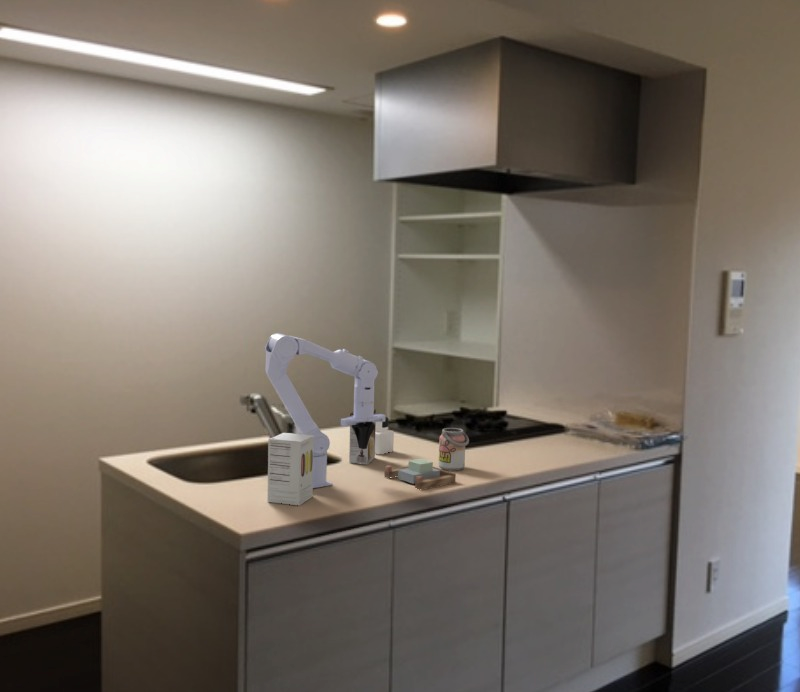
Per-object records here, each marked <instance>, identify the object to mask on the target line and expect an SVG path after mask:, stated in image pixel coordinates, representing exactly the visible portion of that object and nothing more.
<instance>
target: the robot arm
mask: <svg viewBox="0 0 800 692" xmlns="http://www.w3.org/2000/svg"><path fill="white" fill-rule="evenodd" d="M264 350H265V367H264V368H265V371H264V373H265V374H266V376H267V378H268V380H269V381H270V383H271V385H272V387H273V388H274V390H275V392H276V394H277V396H278V397H279V399H280V401H281V402H282V404H283V406H284V408H285V409H286V411H287V413H288V414H289V416H290V417H291V420H292V422H293V423H294V425H295V427H296V428H295V429H296V432H297V434H305V435H313V436H314V450H313V489H317V488H322V487H328V486H332V485H333V482H331V481H328V480H327V474H328V473H327V467H328V466H327V465H328V461H327V460H328V450H329V448H330V444H331V440H330V438H329V436H328V435H327V434H325V433H324V432H323V431H321V429H320V427H319V426H318V425H317V424H316V422H315V421H314V420H313V418H312V416H311V415H310V412H309V411H308V409H307V407H306V406H305V404H304V402H303V401H302V398H301V397H300V395H299V394H298V392H297V390H296V388H295V386H294V385H293V383H292V381H291V379H290V377H289V375H288V374H287V369H288V367H289V364H290V362H291V361H292V360H293V359H294V357H295V356H296V355H297V356H302V355H305V354H307V355H310V356H312V357H316V358H318V359H321V360H324V361H326V362H328V363H329V364H330V367H331V369H332V370H336V371H339V372H341V373H343V374H346V375H349V376H351V377H354V385H353V386H354V387H353V388H354V389H353V411H354V416H352V417H350V416H347V417H345V418H341V419H340V426H341V427H348V426H349V427H350V425H352V428H353V430H354V432H355V435H356V437H357V441H358V446H359V448H360V449H367V445H368V442H369V438H370V436H371V434H372V432H373V430H374V429H375V424H373V422H385V416H386V414H384V413H383V414H382V413H378V414H377V413H376V415H374V407H375V380H376V379H377V377H378V375H379V371H378V369H377V365H376V364H375V363H374V362H372V361H370V360H366V359H364V357H363V356H361V355H355V354H353V353H350V351H349V350H347V349H345V348H343V349H337V350H335V351H332V350H330V349H328V348H326V347H323V346H321V345H318V344H317V343H314V342H312V341H310V340H308V339H305V338H300V337H296V336H293V335H286V334H285V333H282V332H277V333H273V334H272V335H271V336H269V338H268V340H267V343H266V344H265V347H264Z"/></svg>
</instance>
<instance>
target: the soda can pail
mask: <svg viewBox="0 0 800 692" xmlns="http://www.w3.org/2000/svg"><path fill="white" fill-rule="evenodd" d="M469 442H470V439H469V436H468V435H467V434H466V433H465V432H464V429H463V428H458V427H457V428H456V427H446V428H445V427H444V428H442V430H441V435H439V443H438V467H439V469H441V468H442V470H443V469H445V471H449V470H451V471H450V472H452V471H456V472H457V470H458V471H461V470H463V469H464V468H465V463H466V462H465V460H466V446H467V445H469Z"/></svg>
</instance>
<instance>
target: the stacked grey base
mask: <svg viewBox="0 0 800 692" xmlns="http://www.w3.org/2000/svg"><path fill="white" fill-rule="evenodd" d="M433 463H434V462H433V461H431V460H427V459H424V458H417V459H412V460H408V466H407V467H408V468H407V469H401V470H398V477H397V479H399V480H402V481H403V482H407V483H409V484H412V485H415V481H416V476H422V477H423V480H426V479H431V478H436V477H440V470H437V469H434V468H433V467H434V464H433Z"/></svg>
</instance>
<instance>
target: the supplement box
mask: <svg viewBox="0 0 800 692" xmlns="http://www.w3.org/2000/svg"><path fill="white" fill-rule="evenodd" d="M267 442H268V444H267V448H268V449H267V456H268V457H267V462H268V463H267V503H274V504H281V503H282V505H289V504H290V505H292V506H297V505H298V506H299V507H300V506H301V505H302V504H304V503H305V502H308V500H310V499H311V498H312V497H313V493H314V492H313V490H314V488H313V450H314V436H313V435H305V434H299V433H292V432H282V433H280V434H278V435H275V436H273V437H270V438H268V441H267ZM290 505H289V506H290Z"/></svg>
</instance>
